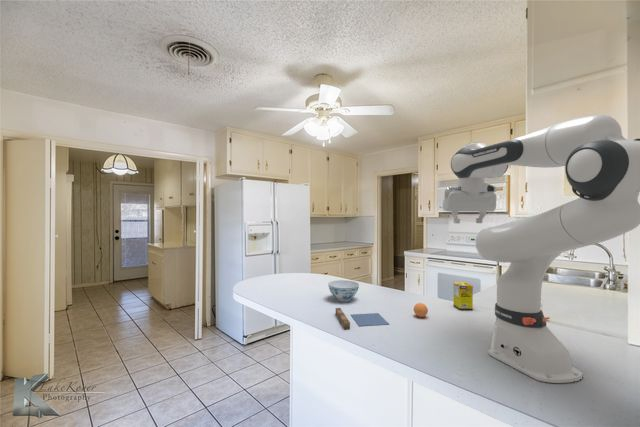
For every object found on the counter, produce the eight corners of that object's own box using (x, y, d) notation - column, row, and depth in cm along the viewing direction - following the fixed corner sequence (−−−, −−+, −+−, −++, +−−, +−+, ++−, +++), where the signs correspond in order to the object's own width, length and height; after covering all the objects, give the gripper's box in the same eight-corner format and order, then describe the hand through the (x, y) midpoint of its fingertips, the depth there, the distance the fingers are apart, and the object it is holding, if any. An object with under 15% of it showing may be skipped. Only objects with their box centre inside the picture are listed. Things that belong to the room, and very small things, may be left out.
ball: (430, 318, 116) (430, 305, 116) (417, 319, 115) (417, 305, 115) (423, 313, 121) (423, 300, 121) (411, 314, 121) (411, 301, 121)
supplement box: (473, 310, 126) (473, 285, 126) (459, 310, 126) (459, 285, 126) (466, 306, 132) (466, 282, 132) (453, 305, 132) (453, 282, 132)
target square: (389, 324, 110) (389, 324, 110) (358, 326, 108) (358, 325, 108) (378, 313, 122) (378, 313, 122) (350, 314, 120) (350, 314, 120)
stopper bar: (349, 329, 105) (349, 322, 105) (344, 329, 105) (344, 322, 105) (340, 313, 121) (340, 307, 121) (335, 314, 121) (335, 308, 121)
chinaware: (358, 295, 148) (358, 280, 148) (359, 305, 133) (359, 288, 133) (329, 294, 149) (329, 279, 149) (327, 303, 134) (327, 287, 134)
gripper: (450, 186, 104) (447, 224, 106) (500, 187, 107) (497, 224, 109) (440, 186, 110) (438, 222, 112) (488, 187, 114) (485, 222, 115)
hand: (467, 223), depth 110 cm, fingers open, 8 cm apart
